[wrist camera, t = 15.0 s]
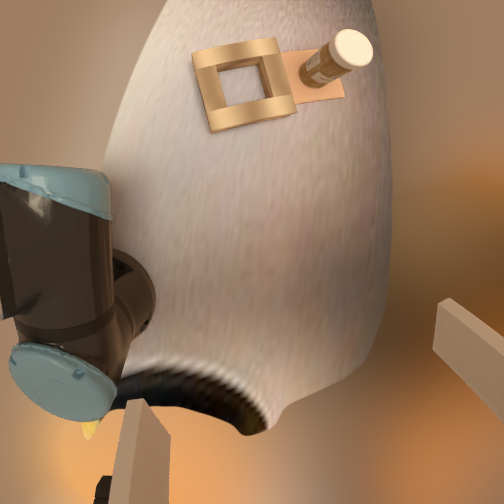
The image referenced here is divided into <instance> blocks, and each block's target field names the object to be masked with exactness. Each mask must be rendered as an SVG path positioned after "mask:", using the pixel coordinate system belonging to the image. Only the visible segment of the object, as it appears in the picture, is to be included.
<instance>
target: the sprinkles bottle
mask: <svg viewBox="0 0 504 504" xmlns="http://www.w3.org/2000/svg"><path fill="white" fill-rule="evenodd" d="M372 56H373V50H372V46H371V44H370V42H369V40H368V39H367V38H366V37H365V36H364V35H363V34H361V33H360V32H358V31H355V30H351V29H345V30H342V31H340V32H338V33H337V34H336V35H334V36H333V37H332V38H331V40H330V42H328V43H327V44H326V45H324V46H323V47H322V48H320V49H319V50H318V51H317V52H316V53H315V54H313V55H312V56H311V57H310V58H309V59H308V61H306V62H304V63H303V64H302V65H301V66H300V69H299V76H300V78H301V81H302V82H303V83H304V84H305V85H307V86H309V87H311V88H321V87H324V86H325V85H326V84H327V83H330V82H332V81H333V80H335V79H337V78H339V77H341V76H343V75H345V74H346V73H348V72H350V71H352V70H355V69H359V68H361V67H363V66H365V65H367V64H368V63H369V62H370V61H371V59H372Z"/></svg>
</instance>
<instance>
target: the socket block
mask: <svg viewBox="0 0 504 504" xmlns="http://www.w3.org/2000/svg"><path fill="white" fill-rule="evenodd" d="M191 55H192V61H193V65H194V69H195V73H196V77H197V81H198V84H199V88H200V92H201V96H202V100H203V103H204V107H205V111H206V115H207V118H208V122H209V126H210V130H211V133H216V132H219V131H223V130H227V129H231V128H235V127H239V126H243V125H248V124H252V123H256V122H261V121H266V120H270V119H275V118H280V117H285V116H290V115H292V114H294V113H296V112H297V110H296V106H295V102H294V98H293V95H292V91H291V87H290V84H289V80H288V77H287V73H286V70H285V66H284V63H283V60H282V56H281V53H280V50H279V47H278V43H277V40H276V37H273V38H265V39H258V40H251V41H245V42H239V43H234V44H229V45H224V46H219V47H214V48H210V49H206V50H201V51H197V52H193V53H191ZM256 64H257V67H258V70H259V74H260V77H261V81H262V84H263V88H264V92H265V95H266V99H262V100H257V101H252V102H248V103H243V104H239V105H234V106H230V107H227V106H226V102H225V99H224V95H223V91H222V87H221V84H220V80H219V76H218V73H217V72H221V71H225V70H230V69H235V68H240V67H245V66H250V65H256Z"/></svg>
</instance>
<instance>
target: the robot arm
mask: <svg viewBox="0 0 504 504" xmlns="http://www.w3.org/2000/svg"><path fill="white" fill-rule="evenodd" d="M112 221H113V215H112V214H111V187H110V183H109V180H108V178H107V177H106V176H105V175H104V174H103V173H102V172H100V171H97V170H91V169H82V168H71V167H58V166H44V165H24V164H0V321H1V320H4V319H7V318H10V317H13V318H14V321H15V325H16V329H17V332H18V336H19V343H18V344H17V345H16V346H14V347H13V349H12V352H11V356H10V359H9V368H10V372H11V375H12V377H13V379H14V381H15V383H16V384H17V386H18V387H19V388H20V390H21V391H22V392H23V393H24V394H25V395H26V396H27V397H28V398H29V399H30V400H31V401H33V402H34V403H35V404H37V405H38V406H40V407H41V408H42V409H44V410H46V411H48V412H49V413H52V414H53V415H56V416H58V417H61V418H64V419H67V420H71V421H77V422H91V421H95V420H97V419H99V418H101V417H104V416H105V415H106V414H107V413H108V411H109V409H110V407H111V405H112V402H113V400H114V398H115V397H116V395H117V387H118V384H119V380H120V377H121V374H122V370H123V367H124V364H125V360H126V357H127V354H128V351H129V348H130V344H131V342H132V341H133V340H134V339H135V338H136V337H138V336H139V335H140V334H141V333H142V332H143V331H144V330H145V329H146V328H147V326H148V325H149V323H150V321H151V319H152V316H153V312H154V309H155V302H156V297H155V290H154V286H153V283H152V281H151V279H150V277H149V275H148V273H147V272H146V271H145V269H144V268H143V267H142V266H141V265H140V264H139V263H138V262H137V261H136V260H135V259H133V258H132V257H131V256H129V255H127V254H125V253H123V252H121V251H118V250H114V249H112V231H111V222H112ZM433 350H434V351H435V352H436V353H437V354H438V355H439V356H440V357H441V358H442V359H443V360H444V361H445V362H446V363H447V364H448V365H449V366H450V367H451V368H452V369H453V370H454V371H455V372H456V373H457V374H458V375H459V376H460V377H461V378H462V379H463V380H464V382H465V383H466V384H468V386H469V387H470V388H471V389H472V390H473V391H474V392H475V393H476V394H477V395H478V396H479V397H480V398H481V399H482V400H483V401H484V403H485V404H487V406H488V407H489V408H490V409H491V410H492V411H493V412H494V413H495V414H496V415H497V417H498V418H499V419H500V420H501V421H502V422H503V423H504V338H503V337H502V336H501V335H499V334H498V333H497V332H495V331H494V330H492V328H490V327H489V326H488V325H486V324H485V323H484V322H482V321H481V320H480V319H478V318H477V317H476V316H474V315H472V314H471V313H470V312H469V311H467V310H466V309H465V308H463V307H462V306H460V305H459V304H458V303H456V302H455V301H453V300H452V299H451V298H448V299H446V300H444V301H442V302H441V303H438V308H437V318H436V328H435V336H434V343H433ZM170 438H171V436H170V434H169V433H168V432H167V431H166V429H165V428H164V426H163V425H162V424H161V423H160V421H159V420H158V418H157V417H156V416H155V414H154V413H153V411H152V410H151V409H150V407H149V406H148V404H147V403H146V401H145V400H144V399H143V398H142V399H136V400H129V401H127V405H126V410H125V414H124V419H123V424H122V428H121V433H120V438H119V443H118V448H117V453H116V458H115V464H114V470H113V476H102V478H101V480H100V481H99V483H98V484H97V486H96V492H95V499H94V504H169V463H170V440H171V439H170Z"/></svg>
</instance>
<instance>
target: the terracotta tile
mask: <svg viewBox="0 0 504 504" xmlns="http://www.w3.org/2000/svg"><path fill="white" fill-rule="evenodd" d="M318 50H319V49H314V50H303V51H293V52H284V53H281V56H282V60H283V63H284V66H285V70H286V73H287V77H288V80H289V84H290V87H291V91H292V95H293V98H294V102H295V104H300V103H307V102H313V101H320V100H328V99H336V98H343V97H345V95H344V91H343V87H342V84H341V80H340V77H339V78H337V79H335V80H333V81H332V82H330V83H327V84H326V85H325V86H324V87H321V88H311V87H309V86H307V85H305V84H304V83H303V82H302V81H301V78H300V76H299V69H300V66H301V65H302V64H303V63H304V62H306V61H308V59H309V58H310V57H311V56H312V55H313V54H315V53H316V52H317V51H318Z"/></svg>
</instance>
